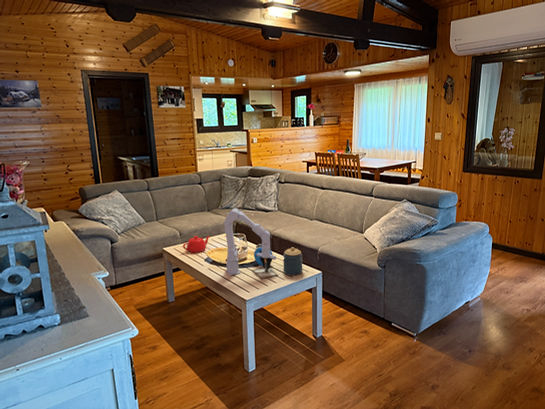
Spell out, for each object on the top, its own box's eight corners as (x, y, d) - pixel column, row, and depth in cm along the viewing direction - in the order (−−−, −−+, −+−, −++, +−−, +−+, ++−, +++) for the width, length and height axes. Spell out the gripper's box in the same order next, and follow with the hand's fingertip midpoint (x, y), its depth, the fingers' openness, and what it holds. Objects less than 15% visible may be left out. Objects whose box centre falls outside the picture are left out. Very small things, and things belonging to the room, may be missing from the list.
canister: (290, 277, 239) (290, 251, 236) (279, 271, 250) (279, 246, 246) (306, 272, 246) (306, 247, 243) (294, 266, 257) (294, 242, 253)
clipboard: (251, 271, 251) (251, 269, 251) (267, 267, 256) (267, 266, 256) (261, 279, 237) (261, 277, 237) (277, 275, 242) (277, 273, 242)
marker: (263, 271, 248) (263, 258, 246) (266, 270, 250) (265, 257, 248) (267, 272, 246) (266, 259, 245) (269, 270, 249) (269, 258, 247)
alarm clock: (273, 265, 261) (272, 245, 258) (268, 267, 256) (267, 247, 253) (259, 261, 269) (258, 242, 266) (253, 264, 264) (253, 244, 261)
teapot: (188, 256, 283) (187, 241, 280) (179, 251, 294) (177, 237, 292) (215, 248, 299) (215, 234, 297) (205, 244, 311) (204, 231, 308)
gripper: (253, 248, 246) (254, 267, 248) (271, 252, 238) (272, 271, 241) (259, 245, 251) (260, 264, 254) (277, 249, 244) (278, 268, 246)
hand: (266, 267), depth 248 cm, fingers closed on marker, 3 cm apart
